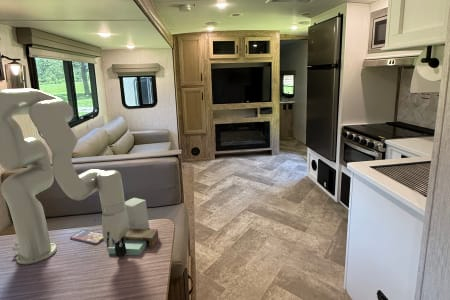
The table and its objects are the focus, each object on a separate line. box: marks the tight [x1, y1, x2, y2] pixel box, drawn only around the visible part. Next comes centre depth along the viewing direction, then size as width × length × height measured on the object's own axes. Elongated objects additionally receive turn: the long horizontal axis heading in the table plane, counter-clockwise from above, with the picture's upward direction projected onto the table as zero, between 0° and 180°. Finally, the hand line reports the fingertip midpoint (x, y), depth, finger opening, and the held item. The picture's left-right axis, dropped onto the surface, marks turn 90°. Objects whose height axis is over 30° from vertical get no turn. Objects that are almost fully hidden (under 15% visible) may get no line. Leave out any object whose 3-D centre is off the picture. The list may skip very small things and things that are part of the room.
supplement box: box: [125, 197, 150, 229], centre depth 122 cm, size 7×7×13 cm
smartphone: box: [69, 229, 104, 246], centre depth 119 cm, size 1×7×15 cm
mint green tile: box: [107, 239, 147, 256], centre depth 108 cm, size 12×6×2 cm, turn 81°
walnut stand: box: [105, 228, 160, 249], centre depth 113 cm, size 18×6×4 cm, turn 81°
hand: (121, 254), depth 104 cm, fingers closed
